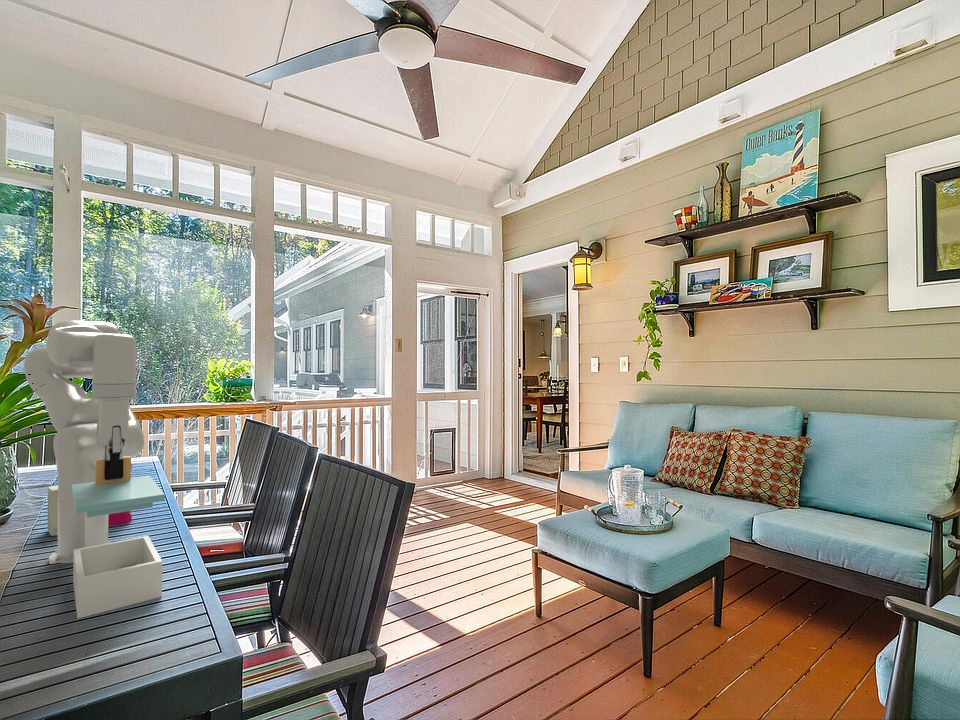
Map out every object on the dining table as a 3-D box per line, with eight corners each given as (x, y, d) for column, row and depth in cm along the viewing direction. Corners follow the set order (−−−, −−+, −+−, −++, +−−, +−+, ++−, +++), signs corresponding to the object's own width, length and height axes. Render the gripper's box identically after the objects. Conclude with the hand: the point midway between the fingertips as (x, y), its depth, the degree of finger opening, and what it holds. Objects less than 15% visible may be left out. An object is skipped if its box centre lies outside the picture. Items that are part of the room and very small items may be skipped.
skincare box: (72, 532, 135) (72, 487, 134) (51, 537, 131) (51, 490, 131) (67, 527, 139) (67, 483, 139) (46, 531, 136) (47, 486, 136)
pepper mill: (129, 516, 149) (129, 449, 149) (137, 521, 144) (138, 452, 144) (99, 522, 143) (100, 452, 143) (107, 528, 139) (107, 456, 138)
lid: (71, 497, 104) (72, 460, 104) (149, 487, 113) (150, 453, 112) (75, 521, 90) (76, 479, 90) (164, 507, 99) (165, 469, 98)
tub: (73, 587, 104) (73, 549, 104) (147, 570, 112) (148, 535, 112) (77, 624, 90) (77, 579, 90) (161, 601, 99) (162, 561, 99)
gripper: (89, 389, 110) (88, 473, 110) (95, 395, 98) (93, 488, 98) (131, 388, 115) (129, 468, 115) (140, 394, 103) (139, 482, 103)
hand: (113, 477), depth 107 cm, fingers closed on lid, 1 cm apart
